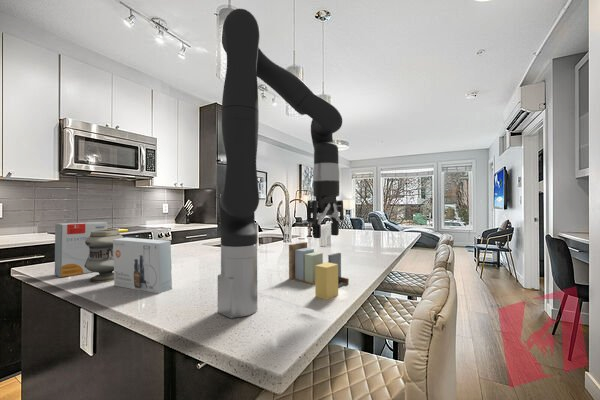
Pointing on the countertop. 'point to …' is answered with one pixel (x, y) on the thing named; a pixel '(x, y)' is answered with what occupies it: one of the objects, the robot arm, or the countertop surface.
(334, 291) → the book ochre
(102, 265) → the apothecary jar
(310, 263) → the book sage
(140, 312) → the countertop surface
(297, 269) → the book slate
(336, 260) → the bookend
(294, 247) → the book trough
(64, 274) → the hard drive box
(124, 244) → the skincare box
